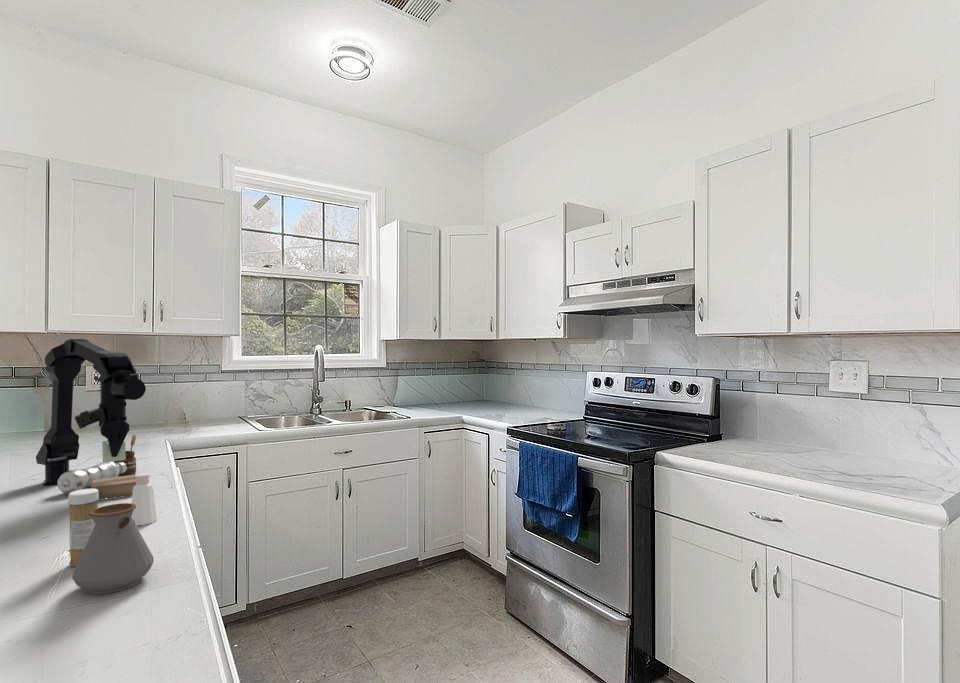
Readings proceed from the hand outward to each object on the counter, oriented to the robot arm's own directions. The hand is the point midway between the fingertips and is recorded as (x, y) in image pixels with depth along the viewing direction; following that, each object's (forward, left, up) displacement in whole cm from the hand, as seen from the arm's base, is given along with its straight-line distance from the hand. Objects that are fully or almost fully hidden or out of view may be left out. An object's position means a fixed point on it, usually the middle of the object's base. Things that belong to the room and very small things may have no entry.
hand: (113, 455), depth 147 cm
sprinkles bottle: (+53, -7, -11) cm, 55 cm away
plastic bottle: (-6, -11, -7) cm, 15 cm away
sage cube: (0, 0, -1) cm, 1 cm away
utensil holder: (-25, +4, -11) cm, 28 cm away
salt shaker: (+33, +4, -11) cm, 35 cm away
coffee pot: (+72, -3, -11) cm, 73 cm away
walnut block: (0, 0, -11) cm, 11 cm away
